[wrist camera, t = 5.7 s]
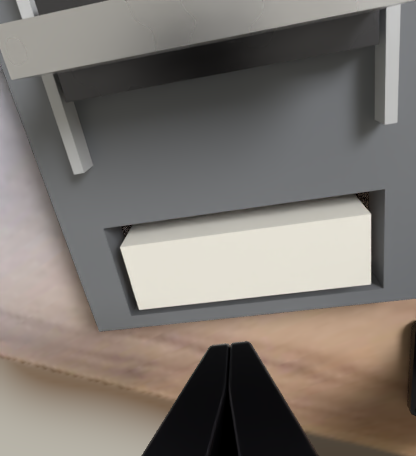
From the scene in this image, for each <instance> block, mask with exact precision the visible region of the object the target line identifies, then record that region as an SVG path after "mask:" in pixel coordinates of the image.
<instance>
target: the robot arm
mask: <svg viewBox="0 0 416 456" xmlns="http://www.w3.org/2000/svg"><path fill="white" fill-rule="evenodd" d="M407 405H408V408H409V410H410V412H411V414H412V415H414V416H416V322H415V323H414V324H413V326H412V332H411V350H410V368H409V386H408V404H407ZM142 456H318V454H317V452H316V450H315V449H314V447H313V445H312V444H311V442H310V441H309V439H308V437H307V435H306V434H305V432H304V431H303V429H302V427H301V426H300V424H299V422H298V421H297V419H296V417H295V416H294V414H293V412H292V411H291V409H290V407H289V406H288V404H287V402H286V401H285V399H284V397H283V396H282V394H281V392H280V391H279V389H278V387H277V386H276V384H275V382H274V381H273V379H272V377H271V376H270V374H269V373H268V371H267V369H266V368H265V366H264V364H263V363H262V361H261V359H260V358H259V356H258V354H257V353H256V351H255V349H254V348H253V346H252V344H251V343H250V342H248V341H245V342H236V343H232V344H231V345H229V344H219V345H212V346H210V347H209V348H208V350H207V352H206V353H205V355H204V356H203V358H202V360H201V361H200V363H199V364H198V366H197V368H196V369H195V371H194V372H193V374H192V376H191V377H190V379H189V380H188V382H187V384H186V385H185V387H184V388H183V390H182V392H181V393H180V395H179V396H178V398H177V400H176V401H175V403H174V404H173V406H172V408H171V409H170V411H169V412H168V414H167V416H166V417H165V419H164V421H163V422H162V424H161V426H160V427H159V429H158V430H157V432H156V434H155V435H154V437H153V438H152V440H151V441H150V443H149V445H148V446H147V448H146V449H145V451H144V453H143V454H142Z"/></svg>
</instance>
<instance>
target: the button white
mask: <svg viewBox="0 0 416 456" xmlns="http://www.w3.org/2000/svg"><path fill="white" fill-rule="evenodd" d="M120 249H121V252H122V256H123V259H124V262H125V265H126V269H127V272H128V275H129V278H130V282H131V285H132V288H133V291H134V295H135V298H136V301H137V305H138V308H139V310H143V309H152V308H161V307H170V306H180V305H189V304H198V303H207V302H216V301H225V300H234V299H243V298H252V297H261V296H270V295H279V294H288V293H297V292H307V291H316V290H325V289H334V288H343V287H352V286H361V285H370V284H371V213H370V212H369V211H368V210H367V209H366V207H365V206H364V205H363V204H362V203H361V201H360V200H359V199H358V198H357V197H356V195H355V194H347V195H340V196H332V197H325V198H318V199H311V200H304V201H297V202H290V203H282V204H275V205H268V206H261V207H254V208H247V209H240V210H232V211H225V212H218V213H211V214H204V215H197V216H190V217H182V218H175V219H168V220H161V221H154V222H147V223H140V224H133V225H132V227H131V229H130V231H129V232H128V234H127V236H126V238H125V239H124V241H123V243H122V245H121V246H120Z"/></svg>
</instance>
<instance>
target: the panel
mask: <svg viewBox="0 0 416 456" xmlns="http://www.w3.org/2000/svg"><path fill="white" fill-rule="evenodd" d="M35 16H39V13H38V10H37V7H36V4H35V1H34V0H0V24H3V23H7V22H12V21H16V20H21V19H25V18H30V17H35ZM0 64H1V67H2V70H3V72H4V75H5V78H6V80H7V83H8V86H9V89H10V91H11V94H12V97H13V99H14V102H15V105H16V107H17V110H18V113H19V116H20V118H21V121H22V124H23V126H24V129H25V132H26V135H27V137H28V140H29V143H30V145H31V148H32V151H33V154H34V156H35V159H36V162H37V164H38V167H39V170H40V172H41V175H42V178H43V181H44V183H45V186H46V189H47V191H48V194H49V197H50V200H51V202H52V205H53V208H54V210H55V213H56V216H57V219H58V221H59V224H60V227H61V229H62V232H63V235H64V237H65V240H66V243H67V246H68V248H69V251H70V254H71V256H72V259H73V262H74V265H75V267H76V270H77V273H78V275H79V278H80V281H81V284H82V286H83V289H84V292H85V294H86V297H87V300H88V302H89V305H90V308H91V311H92V313H93V316H94V319H95V321H96V324H97V327H98V330H99V332H100V331H110V330H119V329H129V328H139V327H148V326H158V325H167V324H177V323H187V322H196V321H206V320H215V319H225V318H235V317H244V316H254V315H263V314H273V313H282V312H292V311H302V310H311V309H321V308H330V307H340V306H350V305H359V304H369V303H378V302H388V301H398V300H407V299H416V0H415V1H411V2H407V3H404V4H400V5H396V6H392V7H388V8H385V9H381V10H379V44H378V45H372V46H367V47H362V48H356V49H351V50H345V51H340V52H335V53H329V54H324V55H319V56H313V57H308V58H302V59H297V60H292V61H286V62H281V63H276V64H270V65H265V66H260V67H254V68H249V69H243V70H238V71H233V72H227V73H222V74H217V75H211V76H206V77H200V78H195V79H190V80H184V81H179V82H174V83H168V84H163V85H158V86H152V87H147V88H141V89H136V90H131V91H125V92H120V93H115V94H109V95H104V96H98V97H93V98H88V99H82V100H77V101H72V102H66V99H65V96H64V93H63V89H62V86H61V83H60V80H59V77H58V74H50V75H43V76H36V77H29V78H22V79H15V80H11V78H10V75H9V72H8V69H7V67H6V64H5V61H4V58H3V56H2V53H1V50H0ZM368 191H369V212H370V213H371V284H370V285H361V286H352V287H343V288H334V289H325V290H316V291H307V292H297V293H288V294H279V295H270V296H261V297H252V298H243V299H234V300H225V301H216V302H207V303H198V304H189V305H180V306H170V307H161V308H152V309H143V310H139V308H138V305H137V301H136V298H135V295H134V291H133V288H132V285H131V282H130V278H129V275H128V272H127V269H126V265H125V262H124V259H123V256H122V252H121V249H120V246H121V245H122V243H123V241H124V239H125V238H124V235H123V231H122V228H121V226H125V225H132V224H140V223H147V222H154V221H161V220H168V219H175V218H182V217H190V216H197V215H204V214H211V213H218V212H225V211H232V210H240V209H247V208H254V207H261V206H268V205H275V204H282V203H290V202H297V201H304V200H311V199H318V198H325V197H332V196H340V195H347V194H354V193H361V192H368Z"/></svg>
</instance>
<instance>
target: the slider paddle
mask: <svg viewBox="0 0 416 456" xmlns="http://www.w3.org/2000/svg"><path fill="white" fill-rule="evenodd" d="M34 1H35V4H36V7H37V10H38V13H39V16H35V17H30V18H25V19H21V20H16V21H12V22H7V23H3V24H0V50H1V53H2V56H3V58H4V61H5V64H6V67H7V69H8V72H9V75H10V78H11V80H15V79H22V78H29V77H36V76H43V75H50V74H58V77H59V80H60V83H61V86H62V89H63V93H64V96H65V99H66V102H72V101H77V100H82V99H88V98H93V97H98V96H104V95H109V94H115V93H120V92H125V91H131V90H136V89H141V88H147V87H152V86H158V85H163V84H168V83H174V82H179V81H184V80H190V79H195V78H200V77H206V76H211V75H217V74H222V73H227V72H233V71H238V70H243V69H249V68H254V67H260V66H265V65H270V64H276V63H281V62H286V61H292V60H297V59H302V58H308V57H313V56H319V55H324V54H329V53H335V52H340V51H345V50H351V49H356V48H362V47H367V46H372V45H378V44H379V10H381V9H385V8H388V7H392V6H396V5H400V4H404V3H407V2H411V1H415V0H34Z"/></svg>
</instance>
